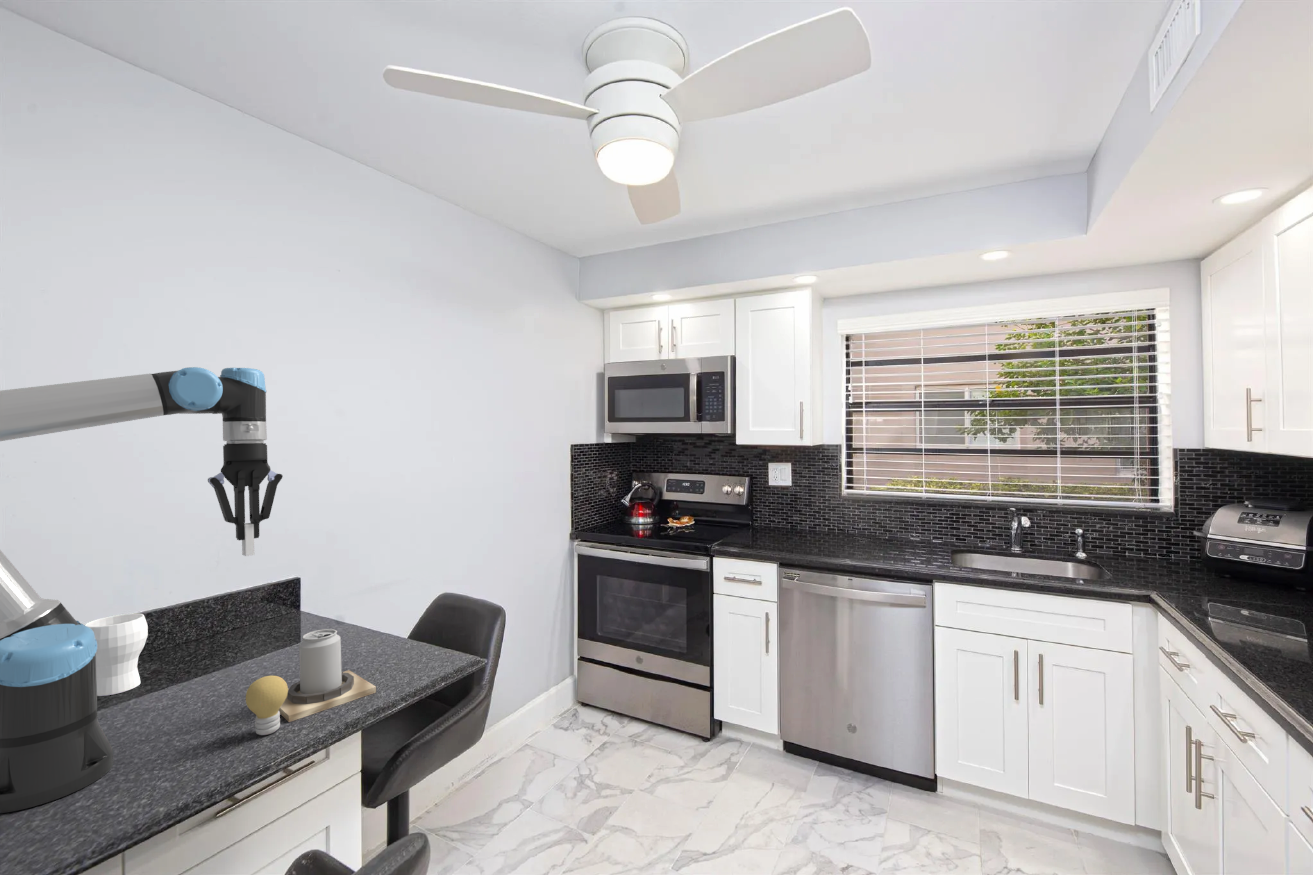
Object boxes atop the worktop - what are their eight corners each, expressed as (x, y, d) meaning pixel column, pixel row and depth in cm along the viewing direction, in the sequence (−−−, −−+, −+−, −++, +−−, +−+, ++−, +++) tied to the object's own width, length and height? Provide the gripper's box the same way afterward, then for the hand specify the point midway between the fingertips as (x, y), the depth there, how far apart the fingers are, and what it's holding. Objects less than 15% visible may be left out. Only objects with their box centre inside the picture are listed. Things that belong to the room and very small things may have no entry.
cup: (152, 687, 126) (150, 618, 126) (83, 704, 118) (81, 631, 118) (146, 674, 133) (144, 609, 133) (81, 690, 126) (79, 621, 125)
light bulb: (256, 744, 101) (255, 687, 101) (239, 735, 104) (238, 680, 104) (295, 728, 106) (294, 674, 106) (278, 720, 109) (276, 667, 109)
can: (322, 700, 115) (320, 640, 115) (290, 697, 116) (289, 638, 116) (350, 684, 122) (348, 627, 122) (320, 682, 124) (318, 626, 124)
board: (289, 722, 108) (288, 707, 108) (266, 701, 118) (265, 687, 118) (376, 692, 121) (375, 679, 121) (349, 675, 130) (348, 663, 130)
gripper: (211, 443, 113) (214, 562, 113) (286, 441, 123) (289, 551, 123) (202, 443, 118) (205, 558, 118) (275, 441, 128) (278, 547, 128)
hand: (248, 554), depth 121 cm, fingers closed
